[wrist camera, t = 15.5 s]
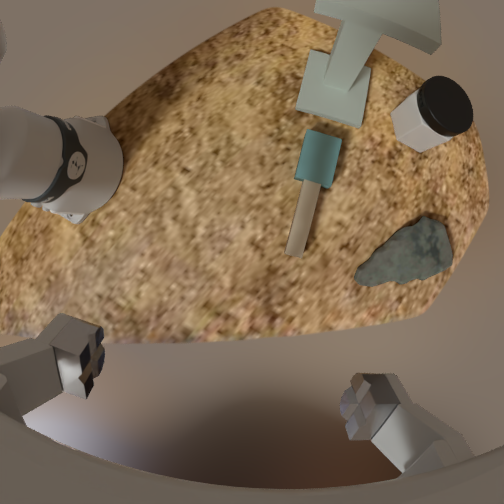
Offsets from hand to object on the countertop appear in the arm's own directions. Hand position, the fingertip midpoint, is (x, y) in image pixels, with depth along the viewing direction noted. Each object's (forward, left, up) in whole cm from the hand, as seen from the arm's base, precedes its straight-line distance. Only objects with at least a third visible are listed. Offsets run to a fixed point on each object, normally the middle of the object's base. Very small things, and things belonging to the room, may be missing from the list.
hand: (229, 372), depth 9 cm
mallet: (+4, +9, -35) cm, 37 cm away
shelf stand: (+4, +27, -35) cm, 45 cm away
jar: (+18, +26, -36) cm, 47 cm away
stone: (+21, +5, -36) cm, 42 cm away
